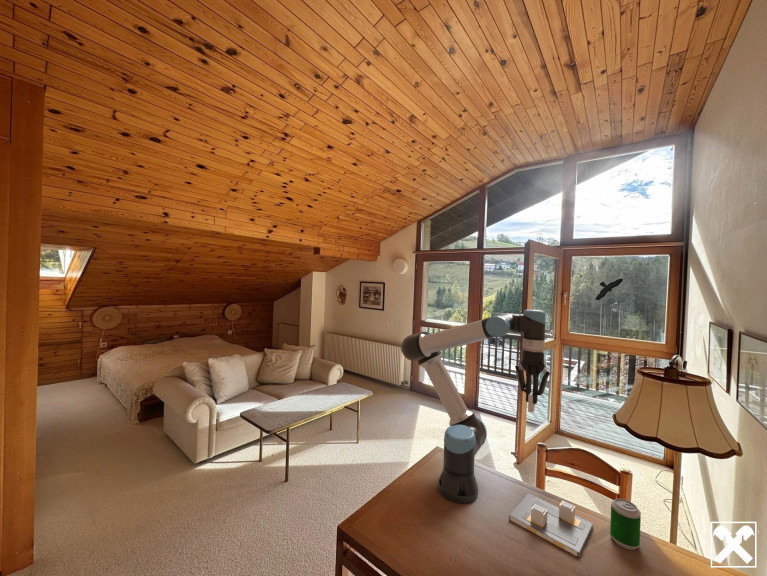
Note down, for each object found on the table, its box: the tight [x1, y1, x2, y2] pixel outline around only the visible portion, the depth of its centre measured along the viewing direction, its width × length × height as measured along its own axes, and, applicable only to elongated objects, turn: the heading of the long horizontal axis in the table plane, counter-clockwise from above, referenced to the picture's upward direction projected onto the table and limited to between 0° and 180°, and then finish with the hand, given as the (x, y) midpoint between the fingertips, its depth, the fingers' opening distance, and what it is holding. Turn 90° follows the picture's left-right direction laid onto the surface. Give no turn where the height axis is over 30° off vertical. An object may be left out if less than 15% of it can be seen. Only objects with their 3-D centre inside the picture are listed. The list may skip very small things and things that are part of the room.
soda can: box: [609, 498, 642, 551], centre depth 101 cm, size 8×8×12 cm
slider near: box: [531, 504, 548, 527], centre depth 107 cm, size 4×4×4 cm
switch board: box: [508, 492, 594, 558], centre depth 108 cm, size 21×17×2 cm
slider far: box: [558, 500, 576, 523], centre depth 109 cm, size 4×4×4 cm
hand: (531, 411), depth 123 cm, fingers closed
